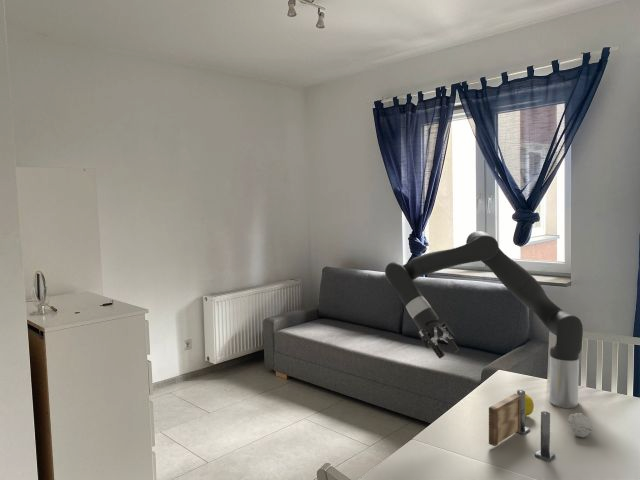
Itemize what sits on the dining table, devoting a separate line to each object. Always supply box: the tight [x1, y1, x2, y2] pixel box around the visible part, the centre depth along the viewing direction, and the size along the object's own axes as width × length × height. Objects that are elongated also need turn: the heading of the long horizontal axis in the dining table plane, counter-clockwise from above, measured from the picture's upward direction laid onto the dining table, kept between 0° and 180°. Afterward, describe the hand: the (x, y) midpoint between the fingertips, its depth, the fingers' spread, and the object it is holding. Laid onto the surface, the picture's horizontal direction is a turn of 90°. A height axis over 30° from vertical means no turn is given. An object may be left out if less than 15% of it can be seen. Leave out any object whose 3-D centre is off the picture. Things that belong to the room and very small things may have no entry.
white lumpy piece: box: [568, 412, 593, 438], centre depth 149 cm, size 6×7×7 cm
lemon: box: [525, 393, 535, 418], centre depth 163 cm, size 6×6×8 cm
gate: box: [488, 393, 521, 447], centre depth 147 cm, size 15×2×11 cm, turn 129°
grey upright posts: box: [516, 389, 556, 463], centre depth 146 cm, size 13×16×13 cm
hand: (449, 354), depth 155 cm, fingers open, 8 cm apart
